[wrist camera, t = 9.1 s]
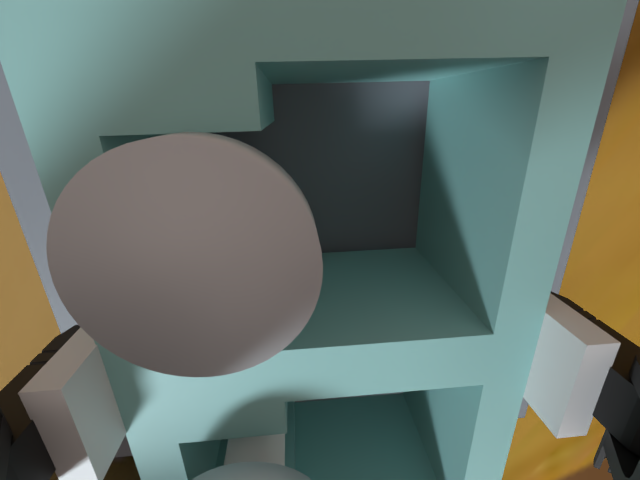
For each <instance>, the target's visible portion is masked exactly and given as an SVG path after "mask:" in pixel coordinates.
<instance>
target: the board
mask: <svg viewBox="0 0 640 480" xmlns="http://www.w3.org/2000/svg"><path fill="white" fill-rule="evenodd" d="M638 2H639V0H627V3H626V7H625V10H624V14H623V18H622V22H621V26H620V29H619V33H618V37H617V41H616V45H615V49H614V52H613V56H612V60H611V64H610V68H609V71H608V75H607V79H606V83H605V87H604V90H603V94H602V98H601V102H600V106H599V110H598V113H597V117H596V121H595V125H594V129H593V132H592V136H591V140H590V144H589V148H588V151H587V155H586V159H585V163H584V167H583V171H582V174H581V178H580V182H579V186H578V190H577V193H576V197H575V201H574V205H573V209H572V212H571V216H570V220H569V224H568V228H567V232H566V235H565V239H564V243H563V247H562V251H561V254H560V258H559V262H558V266H557V270H556V273H555V277H554V281H553V285H552V289H551V291H552V292H554V293H556V294H559V290H560V287H561V283H562V279H563V276H564V272H565V268H566V265H567V261H568V257H569V254H570V250H571V247H572V243H573V239H574V236H575V232H576V228H577V225H578V221H579V217H580V214H581V210H582V206H583V203H584V199H585V196H586V192H587V188H588V185H589V181H590V177H591V174H592V170H593V166H594V163H595V159H596V155H597V152H598V148H599V144H600V141H601V137H602V134H603V130H604V126H605V123H606V119H607V115H608V112H609V108H610V104H611V101H612V97H613V93H614V90H615V86H616V83H617V79H618V75H619V72H620V68H621V64H622V61H623V57H624V53H625V50H626V46H627V42H628V39H629V35H630V31H631V28H632V24H633V21H634V17H635V13H636V10H637V6H638ZM429 85H430V81H393V82H349V83H305V84H272V93H273V107H274V121H273V122H272V123H271V124H269V125H268V126H267V127H265V128H264V129H263V130H261V131H242V132H211V133H206V132H180V133H171V134H166V135H161V136H156V137H152V138H147V139H142V140H138V141H134V142H130V143H126V144H124V145H121V146H119V147H116V148H114V149H111V150H109V151H107V152H105V153H103V154H102V155H100V156H98V157H97V158H95V159H93V160H91V161H90V162H89V163H88V164H87V165H85V166H84V167H83V168H82V169H81V170H79V171H78V172H77V173H76V174H75V175H74V177H73V178H72V179H71V180H70V181H69V182H68V184H67V185H66V186H65V187H64V189H63V191H62V192H61V194H60V196H59V197H58V199H57V201H56V203H55V206H54V208H53V211H52V214H51V211H50V208H49V205H48V202H47V199H46V196H45V193H44V190H43V187H42V184H41V181H40V178H39V175H38V172H37V169H36V166H35V163H34V160H33V157H32V154H31V151H30V148H29V145H28V142H27V139H26V136H25V133H24V130H23V127H22V124H21V121H20V118H19V115H18V112H17V109H16V106H15V103H14V101H13V98H12V95H11V92H10V89H9V86H8V83H7V80H6V77H5V74H4V71H3V68H2V65H1V62H0V172H1V174H2V177H3V180H4V182H5V185H6V188H7V190H8V193H9V196H10V198H11V201H12V204H13V206H14V209H15V212H16V214H17V217H18V220H19V222H20V225H21V228H22V230H23V233H24V236H25V238H26V241H27V244H28V246H29V249H30V252H31V254H32V257H33V260H34V262H35V265H36V268H37V270H38V273H39V276H40V278H41V281H42V284H43V286H44V289H45V292H46V294H47V297H48V300H49V302H50V305H51V308H52V310H53V313H54V316H55V318H56V321H57V324H58V326H59V329H60V332H61V334H62V333H63V332H65V331H66V330H68V329H70V328H71V327H73V326H74V325H79V326H80V327H81V328H82V329H83V330H84V331H85V332H86V333H87V334H88V335H89V336H90V337H91V338H92V339H94V340H95V341H96V342H97V343H99V344H100V345H101V346H102V347H104V348H105V349H107V350H108V351H110V352H112V353H113V354H115V355H116V356H118V357H120V358H122V359H124V360H126V361H128V362H130V363H132V364H135V365H137V366H140V367H143V368H145V369H148V370H152V371H155V372H159V373H163V374H168V375H174V376H181V377H214V376H222V375H228V374H232V373H236V372H240V371H243V370H246V369H249V368H251V367H254V366H256V365H258V364H260V363H262V362H265V361H267V360H268V359H270V358H271V357H273V356H275V355H276V354H278V353H279V352H281V351H282V350H283V349H284V348H285V347H287V346H288V345H289V344H290V343H291V342H292V341H293V340H294V339H295V338H296V337H297V336H298V335H299V334H300V332H301V331H302V330H303V328H304V327H305V325H306V324H307V322H308V321H309V319H310V317H311V315H312V313H313V311H314V309H315V307H316V304H317V301H318V298H319V295H320V290H321V285H322V277H323V261H322V253H330V252H347V251H365V250H382V249H400V248H415V247H416V235H417V224H418V212H419V201H420V189H421V178H422V166H423V154H424V143H425V131H426V120H427V108H428V97H429ZM398 393H403V392H396V393H384V394H373V395H361V396H349V397H338V398H326V399H315V400H303V401H295V402H306V401H318V400H329V399H341V398H352V397H364V396H375V395H387V394H398ZM527 407H528V403H527V401H526V400H525V399H524V398H523V399H522V403H521V407H520V411H519V415H518V418H524V417H525V414H526V411H527ZM125 456H133V455H132V452H131V449H130V446H129V443H128V440H127V437H126V435H125V437H124V439H123V441H122V443H121V445H120V447H119V449H118V451H117V453H116V455H115V457H125ZM115 457H114V458H115ZM192 480H311V479H310V478H309V477H308V476H306V475H304V474H303V473H301V472H299V471H297V470H295V469H293V468H290V467H287V466H285V434H276V435H265V436H254V437H243V438H232V439H228V444H227V449H226V455H225V460H224V466H220V467H217V468H214V469H211V470H209V471H206V472H204V473H202V474H200V475H198V476H197V477H195V478H193V479H192Z"/></svg>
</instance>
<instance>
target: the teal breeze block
mask: <svg viewBox="0 0 640 480" xmlns="http://www.w3.org/2000/svg"><path fill="white" fill-rule="evenodd" d="M626 3H627V0H0V62H1V65H2V68H3V71H4V74H5V77H6V80H7V83H8V86H9V89H10V92H11V95H12V98H13V101H14V103H15V106H16V109H17V112H18V115H19V118H20V121H21V124H22V127H23V130H24V133H25V136H26V139H27V142H28V145H29V148H30V151H31V154H32V157H33V160H34V163H35V166H36V169H37V172H38V175H39V178H40V181H41V184H42V187H43V190H44V193H45V196H46V199H47V202H48V205H49V208H50V211H51V214H52V211H53V208H54V206H55V203H56V201H57V199H58V197H59V196H60V194H61V192H62V191H63V189H64V187H65V186H66V185H67V184H68V182H69V181H70V180H71V179H72V178H73V177H74V175H75V174H76V173H77V172H78V171H79V170H81V169H82V168H83V167H84V166H85V165H87V164H88V163H89V162H90V161H91V160H93V159H95V158H97V157H98V156H100V155H102V154H103V153H105V152H107V151H109V150H111V149H114V148H116V147H119V146H121V145H124V144H126V143H130V142H134V141H138V140H142V139H147V138H152V137H156V136H161V135H166V134H171V133H180V132H206V133H211V132H242V131H261V130H263V129H264V128H265V127H267V126H268V125H269V124H271V123H272V122H273V121H274V107H273V93H272V84H305V83H349V82H393V81H430V85H429V97H428V108H427V120H426V131H425V143H424V154H423V166H422V178H421V189H420V201H419V212H418V224H417V235H416V247H415V248H400V249H382V250H365V251H347V252H330V253H322V261H323V277H322V285H321V290H320V295H319V298H318V301H317V304H316V307H315V309H314V311H313V313H312V315H311V317H310V319H309V321H308V322H307V324H306V325H305V327H304V328H303V330H302V331H301V332H300V334H299V335H298V336H297V337H296V338H295V339H294V340H293V341H292V342H291V343H290V344H289V345H288V346H287V347H285V348H284V349H283V350H282V351H281V352H279V353H278V354H276V355H275V356H273V357H271V358H270V359H268V360H267V361H265V362H262V363H260V364H258V365H256V366H254V367H251V368H249V369H246V370H243V371H240V372H236V373H232V374H228V375H222V376H214V377H181V376H174V375H168V374H163V373H159V372H155V371H152V370H148V369H145V368H143V367H140V366H137V365H135V364H132V363H130V362H128V361H126V360H124V359H122V358H120V357H118V356H116V355H115V354H113V353H112V352H110V351H108V350H107V349H105V348H104V347H102V346H101V345H100V344H99V343H97V342H96V341H95V340H94V342H95V345H97V346H98V349H99V352H100V355H101V358H102V361H103V364H104V367H105V370H106V373H107V376H108V379H109V382H110V385H111V388H112V391H113V394H114V397H115V400H116V403H117V406H118V409H119V412H120V415H121V418H122V421H123V424H124V427H125V430H126V437H127V440H128V443H129V446H130V449H131V452H132V455H133V458H134V461H135V464H136V467H137V470H138V473H139V476H140V479H141V480H192V479H193V478H195V477H197V476H198V475H200V474H202V473H204V472H206V471H209V470H211V469H214V468H217V467H220V466H224V460H225V455H226V449H227V444H228V439H232V438H243V437H254V436H265V435H276V434H285V466H287V467H290V468H293V469H295V470H297V471H299V472H301V473H303V474H304V475H306V476H308V477H309V478H310V479H311V480H501V479H502V476H503V472H504V468H505V464H506V460H507V456H508V453H509V449H510V445H511V441H512V437H513V434H514V430H515V426H516V422H517V418H518V415H519V411H520V407H521V403H522V399H523V395H524V392H525V388H526V384H527V380H528V376H529V373H530V369H531V365H532V361H533V357H534V354H535V350H536V346H537V342H538V338H539V334H540V331H541V327H542V323H543V319H544V315H545V312H546V308H547V304H548V300H549V296H550V293H551V289H552V285H553V281H554V277H555V273H556V270H557V266H558V262H559V258H560V254H561V251H562V247H563V243H564V239H565V235H566V232H567V228H568V224H569V220H570V216H571V212H572V209H573V205H574V201H575V197H576V193H577V190H578V186H579V182H580V178H581V174H582V171H583V167H584V163H585V159H586V155H587V151H588V148H589V144H590V140H591V136H592V132H593V129H594V125H595V121H596V117H597V113H598V110H599V106H600V102H601V98H602V94H603V90H604V87H605V83H606V79H607V75H608V71H609V68H610V64H611V60H612V56H613V52H614V49H615V45H616V41H617V37H618V33H619V29H620V26H621V22H622V18H623V14H624V10H625V7H626ZM396 392H403V393H398V394H387V395H375V396H364V397H352V398H341V399H329V400H318V401H306V402H295V401H303V400H315V399H326V398H338V397H349V396H361V395H373V394H384V393H396Z"/></svg>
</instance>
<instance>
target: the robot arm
mask: <svg viewBox="0 0 640 480" xmlns="http://www.w3.org/2000/svg"><path fill="white" fill-rule="evenodd" d="M523 398H524V399H525V400H526V401H527V403H528V404H529V405H530V406H531V407H532V409H533V410H534V411H535V412H536V414H537V415H538V416H539V417H540V419H541V420H542V421H543V422H544V424H545V425H546V426H547V427H548V428H549V430H550V431H551V432H552V433H553V435H554V436H555V437H556V438H564V437H574V436H584V435H587V432H588V429H589V427H590V424H591V421H592V419H593V416H594V417H595V418H596V419H597V420H598V421H599V422H600V423H601V424H602V425H603V426H604V427H605V428H606V430H605V433H604V435H603V438H602V440H601V443H600V445H599V448H598V450H597V452H596V455H595V457H594V467H595V468H598V469H600V467H601V464H602V462H603V460H604V459H605V458H607V460H608V464H609V469H608V472H609V473H611V474H612V477H613V480H640V347H638V346H637V345H635V344H634V343H632V342H631V341H630V340H628V339H627V338H625V337H624V336H622V335H621V334H619V333H618V332H616V331H615V330H613V329H612V328H610V327H609V326H608V325H606V324H605V323H603V322H602V321H600V320H596V317H594V316H593V315H591V314H590V313H588V312H587V311H583V308H581V307H580V306H578V305H577V304H575V303H574V302H572V301H571V300H569V299H568V298H565V297H563V296H561V295H558V294H556V293H554V292H552V291H551V293H550V296H549V300H548V304H547V308H546V312H545V315H544V319H543V323H542V327H541V331H540V334H539V338H538V342H537V346H536V350H535V354H534V357H533V361H532V365H531V369H530V373H529V376H528V380H527V384H526V388H525V392H524V395H523ZM125 435H126V430H125V427H124V424H123V421H122V418H121V415H120V412H119V409H118V406H117V403H116V400H115V397H114V394H113V391H112V388H111V385H110V382H109V379H108V376H107V373H106V370H105V367H104V364H103V361H102V358H101V355H100V352H99V349H98V346H97V345H95V342H94V339H92V338H91V337H90V336H89V335H88V334H87V333H86V332H85V331H84V330H83V329H82V328H81V327H80V326H79V325H74V326H73V327H71V328H70V329H68V330H66V331H65V332H63V333H62V334H60V335H58V336H57V337H55V338H54V339H53V340H52V341H51V342H50V343H49V344H48V345H47V346H46V347H45V348H44V349H43V350H42V353H40V354H38V355H37V356H36V357H35V358H34V359H33V360H32V361H31V362H30V365H27V366H26V367H25V368H24V369H23V370H22V371H21V372H20V373H19V374H18V375H17V376H16V377H15V378H14V379H13V380H12V381H11V382H9V383H8V384H7V385H6V386H5V387H4V388H3V389H2V390H1V391H0V480H50V478H51V476H52V475H53V473H54V472H55V473H56V475H57V477H58V479H59V480H103V479H104V477H105V475H106V473H107V471H108V469H109V467H110V465H111V463H112V461H113V459H114V457H115V455H116V453H117V451H118V449H119V447H120V445H121V443H122V441H123V439H124V437H125Z"/></svg>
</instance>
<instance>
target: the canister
mask: <svg viewBox="0 0 640 480" xmlns="http://www.w3.org/2000/svg"><path fill="white" fill-rule="evenodd" d="M50 480H59V479H58V477H57V475H56V473H55V472H54V473H53V475H52V476H51V478H50ZM103 480H141V479H140V476H139V473H138V470H137V467H136V464H135V461H134V458H133V456H125V457H115V458H114V459H113V461H112V463H111V465H110V467H109V469H108V471H107V473H106V475H105V477H104V479H103Z"/></svg>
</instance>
